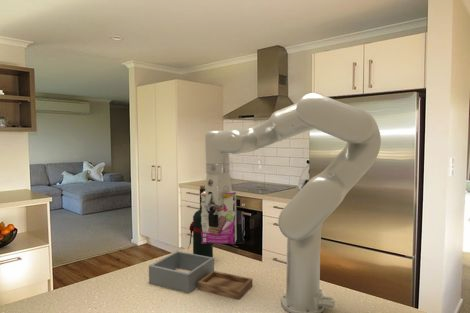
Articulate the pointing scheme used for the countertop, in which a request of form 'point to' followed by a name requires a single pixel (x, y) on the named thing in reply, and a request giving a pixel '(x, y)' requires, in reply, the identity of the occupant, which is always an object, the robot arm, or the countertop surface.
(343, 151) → the robot arm
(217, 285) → the walnut tray
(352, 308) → the countertop surface
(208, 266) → the deep bin
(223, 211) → the candy bar box
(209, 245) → the wine bottle
